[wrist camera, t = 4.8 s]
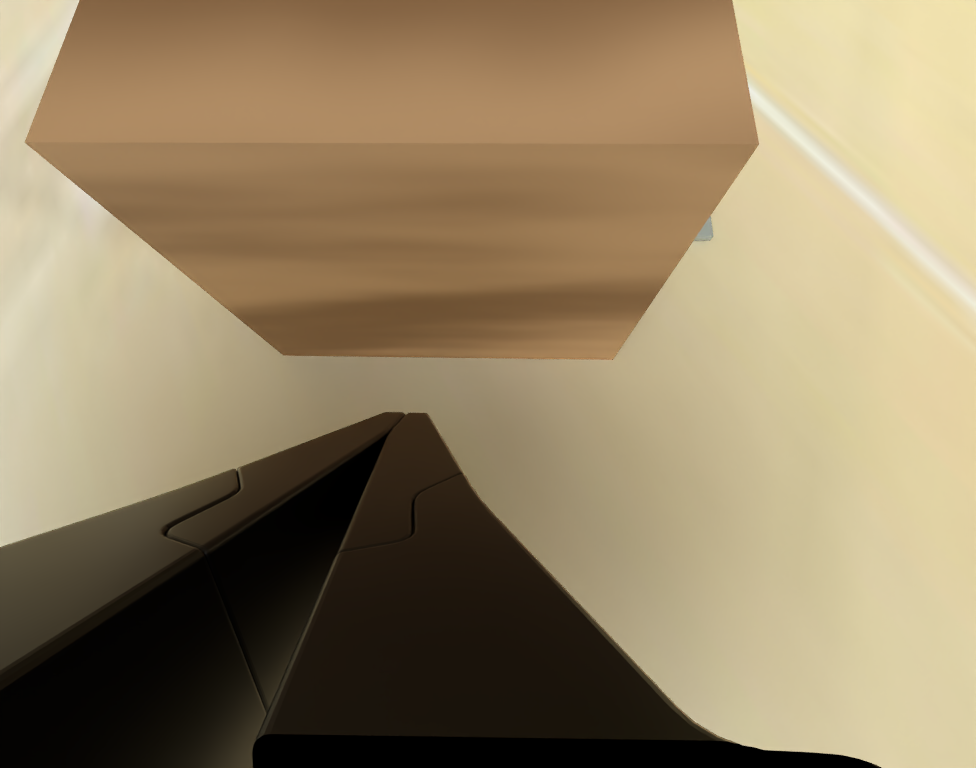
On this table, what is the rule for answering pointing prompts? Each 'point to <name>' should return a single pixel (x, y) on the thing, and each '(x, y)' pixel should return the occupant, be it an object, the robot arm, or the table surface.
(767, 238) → the table surface
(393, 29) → the walnut block
